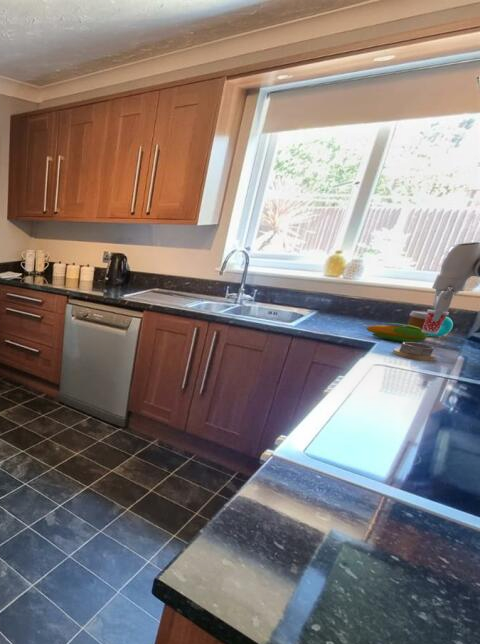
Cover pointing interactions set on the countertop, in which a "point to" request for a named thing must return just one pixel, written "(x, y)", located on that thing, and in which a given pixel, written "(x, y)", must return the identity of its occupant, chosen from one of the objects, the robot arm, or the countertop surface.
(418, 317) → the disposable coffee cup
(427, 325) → the beverage cup
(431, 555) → the countertop surface
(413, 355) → the stand
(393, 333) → the corn
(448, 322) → the turquoise rounded piece
